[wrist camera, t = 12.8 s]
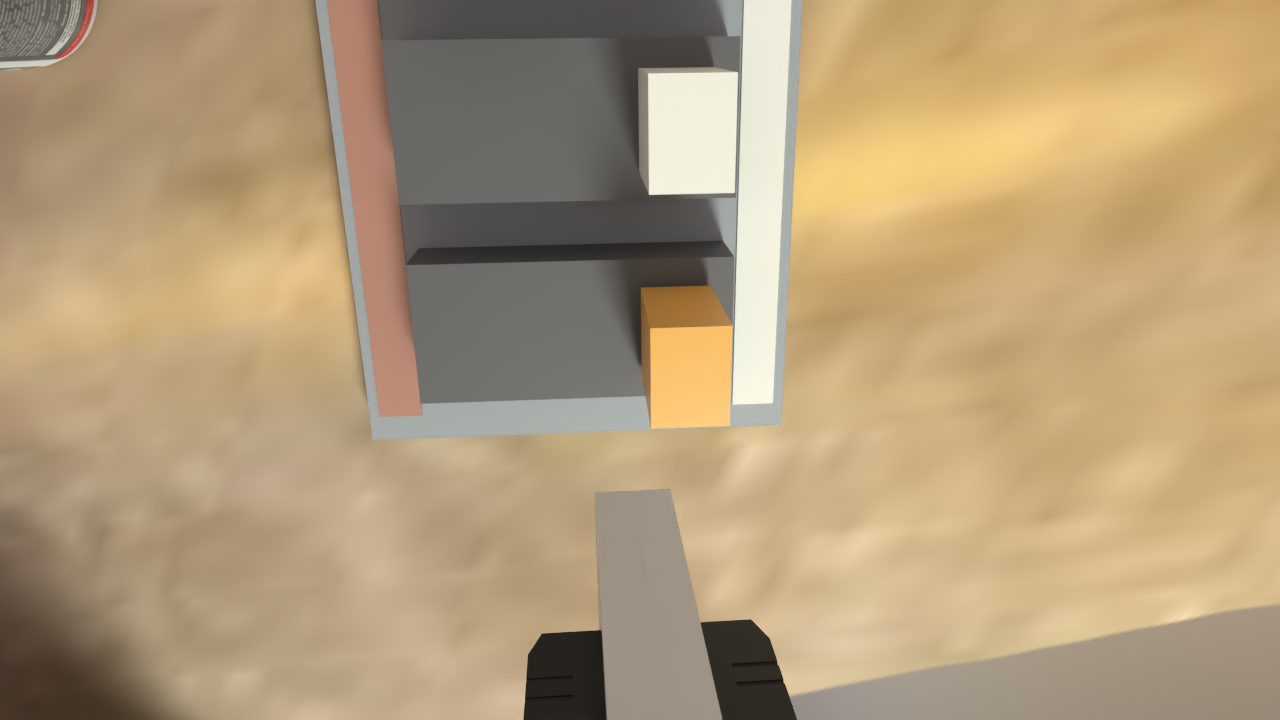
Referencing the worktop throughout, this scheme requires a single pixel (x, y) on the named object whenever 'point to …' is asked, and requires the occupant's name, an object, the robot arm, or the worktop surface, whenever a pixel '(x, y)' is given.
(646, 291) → the block
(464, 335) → the panel
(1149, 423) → the worktop surface
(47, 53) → the pill bottle
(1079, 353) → the worktop surface
